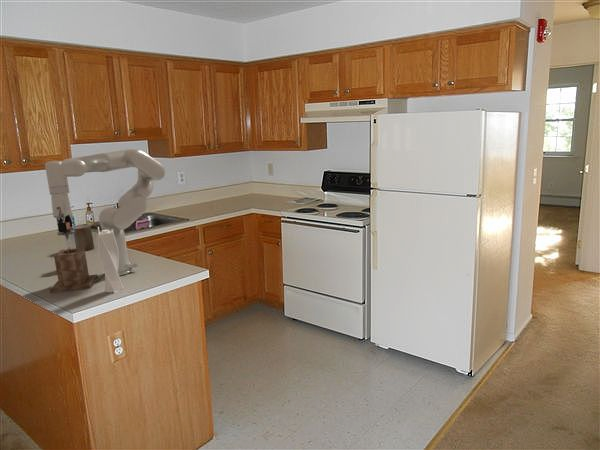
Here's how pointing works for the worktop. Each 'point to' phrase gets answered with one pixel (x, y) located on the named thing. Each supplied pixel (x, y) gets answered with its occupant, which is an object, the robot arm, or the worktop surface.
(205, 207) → the worktop surface
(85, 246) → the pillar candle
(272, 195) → the worktop surface
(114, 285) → the skyscraper
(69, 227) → the plunger
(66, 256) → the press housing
